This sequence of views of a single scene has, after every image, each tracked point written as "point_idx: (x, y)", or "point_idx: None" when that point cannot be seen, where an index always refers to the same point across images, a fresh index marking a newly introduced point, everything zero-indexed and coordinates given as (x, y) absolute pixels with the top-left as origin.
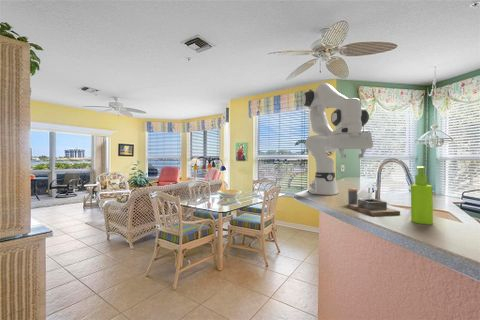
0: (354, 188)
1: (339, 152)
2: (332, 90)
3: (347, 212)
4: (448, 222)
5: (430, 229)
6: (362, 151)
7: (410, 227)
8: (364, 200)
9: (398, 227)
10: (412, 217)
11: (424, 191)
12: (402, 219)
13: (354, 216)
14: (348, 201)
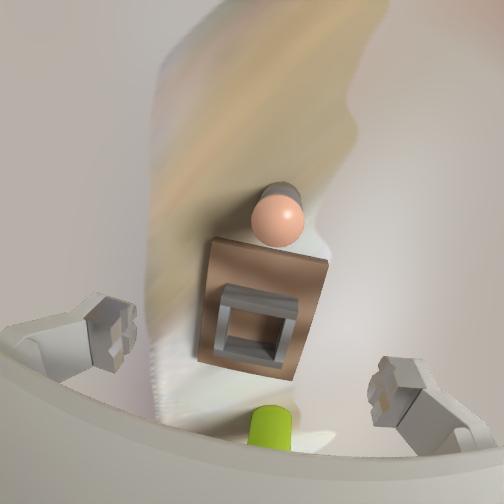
0: (302, 213)
1: (29, 322)
2: None
3: (159, 294)
4: (321, 432)
5: (231, 438)
6: (444, 440)
7: (206, 423)
8: (244, 308)
9: (183, 415)
10: (253, 418)
11: None
12: (250, 395)
13: (150, 334)
14: (262, 193)
